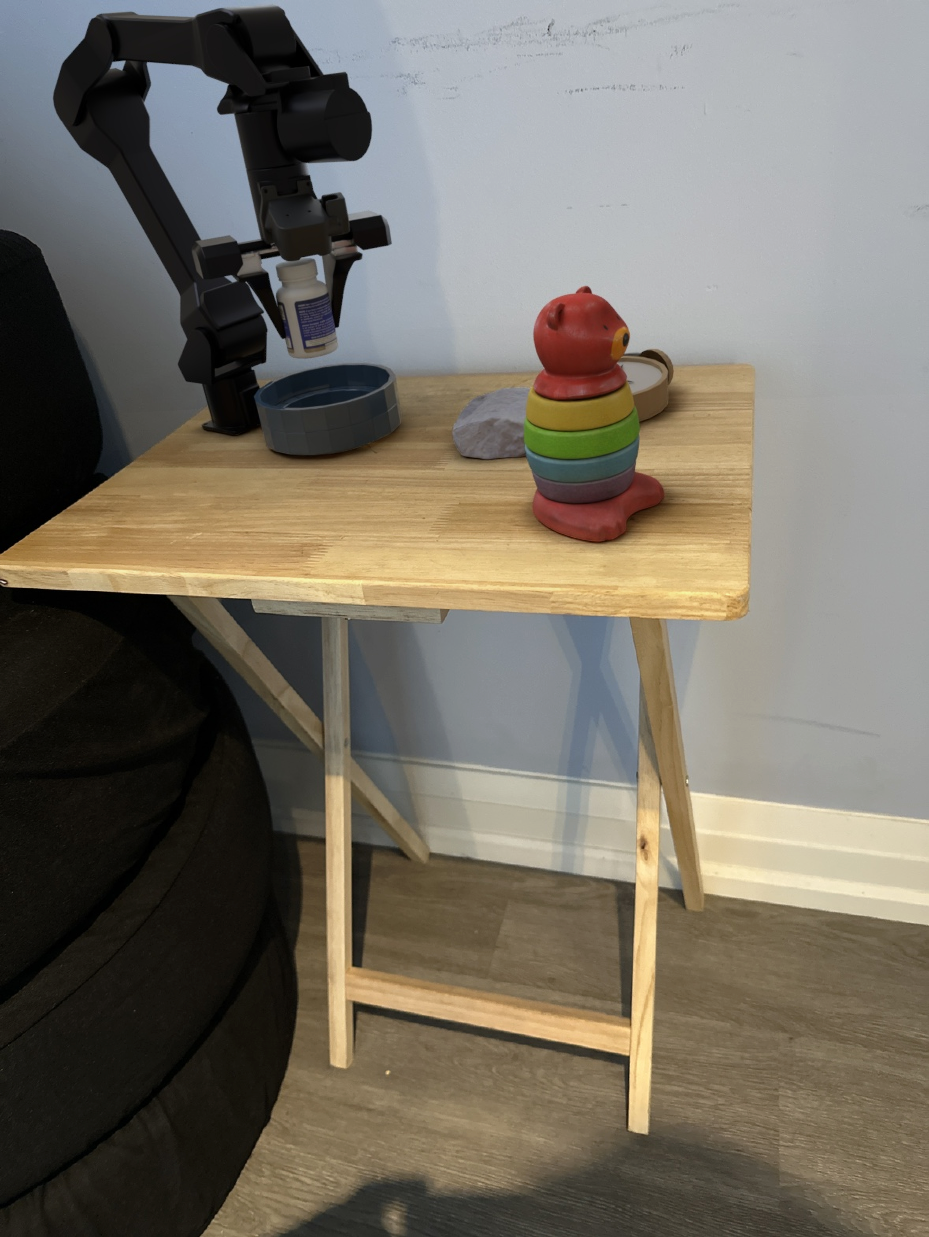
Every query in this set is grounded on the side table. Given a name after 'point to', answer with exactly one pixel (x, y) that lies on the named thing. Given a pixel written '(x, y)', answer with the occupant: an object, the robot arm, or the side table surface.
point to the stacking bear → (584, 422)
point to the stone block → (493, 425)
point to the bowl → (329, 408)
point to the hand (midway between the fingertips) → (309, 332)
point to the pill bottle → (305, 310)
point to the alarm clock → (648, 380)
